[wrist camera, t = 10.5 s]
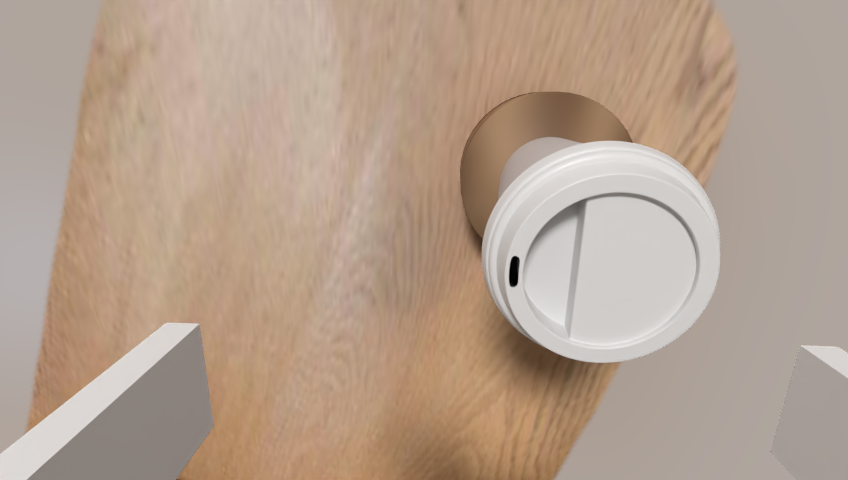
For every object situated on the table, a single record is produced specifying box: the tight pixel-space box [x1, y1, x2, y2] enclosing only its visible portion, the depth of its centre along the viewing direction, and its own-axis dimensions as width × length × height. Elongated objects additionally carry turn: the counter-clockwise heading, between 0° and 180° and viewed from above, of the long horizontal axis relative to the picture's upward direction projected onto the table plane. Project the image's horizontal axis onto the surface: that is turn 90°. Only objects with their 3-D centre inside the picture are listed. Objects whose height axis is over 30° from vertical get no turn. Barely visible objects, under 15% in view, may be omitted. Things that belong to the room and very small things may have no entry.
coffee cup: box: [482, 137, 720, 363], centre depth 24 cm, size 10×10×15 cm
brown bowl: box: [460, 92, 633, 239], centre depth 34 cm, size 12×12×5 cm
